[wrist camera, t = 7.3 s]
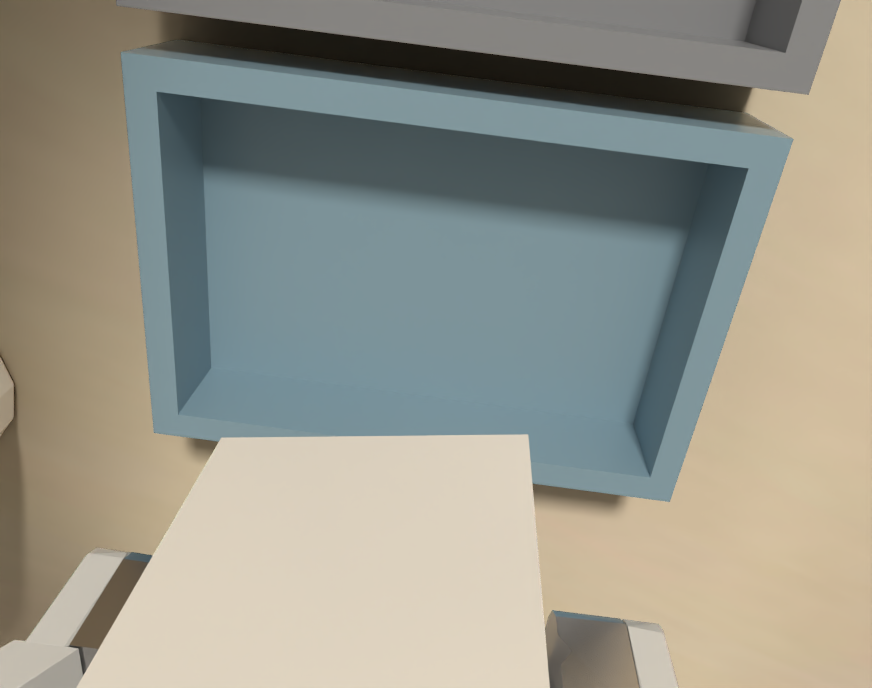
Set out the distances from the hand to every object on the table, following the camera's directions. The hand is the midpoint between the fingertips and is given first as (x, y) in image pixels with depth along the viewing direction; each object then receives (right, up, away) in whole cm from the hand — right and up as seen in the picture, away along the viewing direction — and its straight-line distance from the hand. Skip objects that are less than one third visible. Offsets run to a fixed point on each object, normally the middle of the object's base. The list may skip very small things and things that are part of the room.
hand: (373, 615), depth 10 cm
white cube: (0, +1, +1) cm, 1 cm away
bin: (+1, +6, +12) cm, 14 cm away
